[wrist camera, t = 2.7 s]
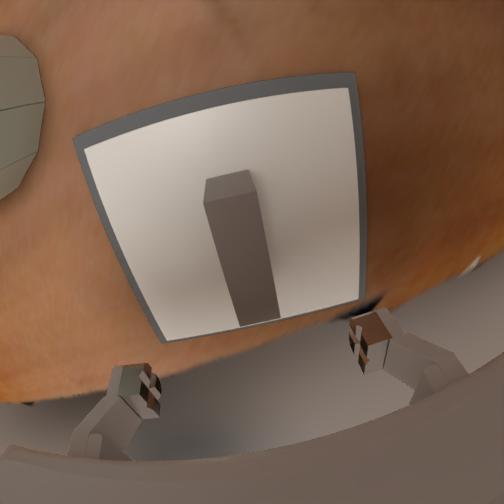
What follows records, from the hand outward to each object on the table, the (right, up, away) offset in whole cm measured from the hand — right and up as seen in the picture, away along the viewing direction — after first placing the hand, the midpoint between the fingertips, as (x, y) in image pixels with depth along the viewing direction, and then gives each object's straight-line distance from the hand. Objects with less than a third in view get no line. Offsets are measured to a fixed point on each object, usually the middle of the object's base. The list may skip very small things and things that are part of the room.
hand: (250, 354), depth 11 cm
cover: (-1, +5, +9) cm, 10 cm away
